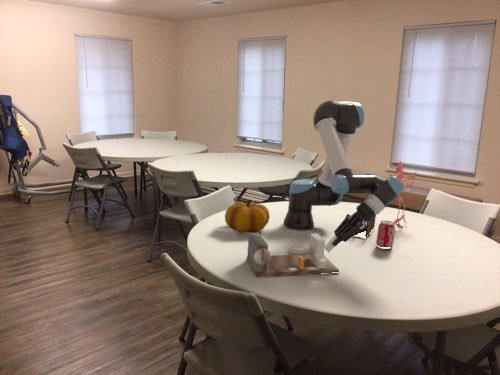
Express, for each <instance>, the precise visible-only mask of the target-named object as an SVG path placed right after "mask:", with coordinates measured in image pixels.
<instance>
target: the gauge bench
mask: <svg viewBox="0 0 500 375" xmlns="http://www.w3.org/2000/svg"><path fill="white" fill-rule="evenodd" d="M299 256H302V257H303V258H304V269H300V268H299V267H298V257H299ZM323 258H324V259H325V260H326V261H327V266H326V268H323V269H319V268H318V267H317V266H315V265H314V264H313V263H312V262H311V261H310V259H309V258H308V255H289V254H281V255H280V254H278V255H277V254H276V255H274V254H273V255H271V252H270V251H269V245H268V243H267V241H266V240H265V239H264V238H263V236H262V235H261V234H260V232H258V233H251V232H248V242H247V256H246V261H247V263H248V265H249V267H250V268H251V270H252V272H253V274H254V275H255V278H262V277H266V278H267V277H289V276H291V277H293V276H308V275H309V274H317V275H322V274H321V273H332V272H340V269H339V268H338V267H336V266H335V264H333V262H331V261H330V260H329V259H328V258H327V257H326V256H325V255H324V257H323ZM309 276H310V275H309Z"/></svg>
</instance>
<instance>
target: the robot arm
mask: <svg viewBox="0 0 500 375" xmlns="http://www.w3.org/2000/svg"><path fill="white" fill-rule="evenodd" d="M312 121H313V127H314V130H315V132H316V133H318V134H319V137H320V140H321V144H322V146H323V149H324V152H325V155H326V158H325V163H324V166H323V169H322V174H321V175H320V176H319V177H318V178H317V181H316V182H315V181H314V180H313V179H309V178H308V179H306V178H303V179H301V178H300V179H296V180H293V181H292V182H291V183H290V186H289V196H288V208H287V209H288V210H287V212H286V214H285V218H284V219H283V226H284V227H286V228H288V229H290V230H296V231H309V229H310V230H313V229H314V226H315V225H314V224H315V222H314V218H313V217H314V216H313V213H312V211H313V210H312V207H315V206H316V207H317V206H320V207H321V206H328V207H330V206H336V205H338V204H340V203H341V202H342V200H343V197H344V195H346V194H369V195H368V196H367V197H366V198H365V199H364V200H363V202H360V203H359V205H357V207H356V211H355V212H353V214H352V215H351V214H349V213H348V214H346V216H345V217H344V219H343V220H342V221H341V223H339V225H338V226H337V227H336V229H334V231H333V233H334V236H332V237H331V238H330V240H329V241H328V242H325V247H324V251H326V252H327V253H330V252H331V251H332V250H333V249H335V247H337V245H339V244H340V243H341V242H345V243H346V242H347V241H349V240H350V239H352V238H354V237H353V236H354V235H356V234H357V233H359V232H360V231H362V230H364V229H366V227H365V226H364V225H365V223H366V224H367V221H369V222H370V221H371V220H373V219H374V218H375V219H376V217H377V215H379V214H380V213H381V212H382V211H384V210H385V208H386V207H387V206H389V205H390V204H391V203H392V202H393V201H394V200H396V198H398V197H399V194H400V195H401V193H402V192H403V191H404V190H405V187H404V185H405V184H404V185H403V183H404V182H403V183H402V181H400V180H399V179H398V178H396V177H395V176H396V175H390V176H388V177H387V178H386V179H385V178H383V177H381V176H379V175H378V174H376V173H372V172H365V173H364V174H354V173H353V170H352V168H351V166H350V162H349V159H348V157H347V151H348V148H349V145H350V141H351V137H352V136H353V135H355V134H356V132H357V129H359V128H361V127H362V126H363V125H364V122H365V112H364V108H363V106H362V104H361V103H360V102H355V101H351V100H350V101H342V100H326V101H324V102H322V103H320V104H319V105H318V106H317V108H316V109H315V111H314V114H313V119H312Z"/></svg>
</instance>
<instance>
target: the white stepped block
mask: <svg viewBox="0 0 500 375" xmlns="http://www.w3.org/2000/svg"><path fill="white" fill-rule="evenodd" d="M325 244H326V240H325V239H324V238H323V237H322V236H321V235H320V234H319V233H309V242H308V248H305V247H304V248H287V249H288V250H287V255H308V258H309V259H310V261H311V262H312V263H313V264H314V265H315V266H317V267H318V268H319V269H323V268H326V266H327V261H326V260H325V259H324V258H323V257H324V256H325V249H324V247H325Z"/></svg>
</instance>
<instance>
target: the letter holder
mask: <svg viewBox="0 0 500 375" xmlns="http://www.w3.org/2000/svg"><path fill="white" fill-rule="evenodd" d="M375 224H376V217H375V218H374V219H373V220H371V221H370V222H369V221H367V222H366V223H365V225H364V226H365V227H366V229H364V230H362V231H360V232H359V233H361V232H364V231H366V235H365V236H366V237H367V235H368V234H369V233H370V232H371V230H372V229H373V228H374V227H375ZM374 229H375V228H374ZM371 233H372V232H371ZM357 234H358V233H357ZM357 234H356V235H357Z"/></svg>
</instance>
